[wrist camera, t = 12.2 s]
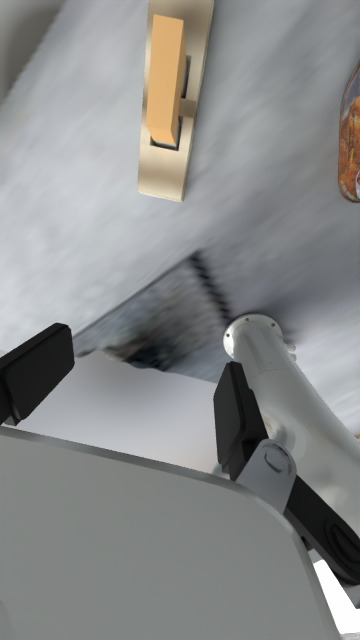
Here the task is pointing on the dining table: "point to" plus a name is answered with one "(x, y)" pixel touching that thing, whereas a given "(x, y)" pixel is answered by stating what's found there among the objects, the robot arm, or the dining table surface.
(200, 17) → the rail
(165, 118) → the light orange block
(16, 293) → the dining table surface
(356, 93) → the tin
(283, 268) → the dining table surface
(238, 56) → the dining table surface
